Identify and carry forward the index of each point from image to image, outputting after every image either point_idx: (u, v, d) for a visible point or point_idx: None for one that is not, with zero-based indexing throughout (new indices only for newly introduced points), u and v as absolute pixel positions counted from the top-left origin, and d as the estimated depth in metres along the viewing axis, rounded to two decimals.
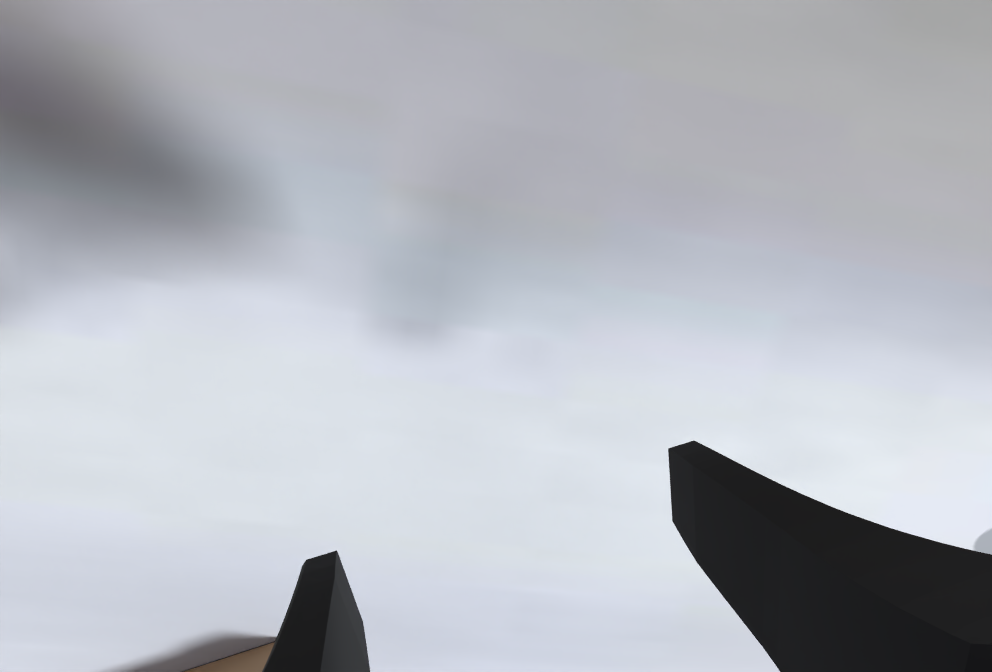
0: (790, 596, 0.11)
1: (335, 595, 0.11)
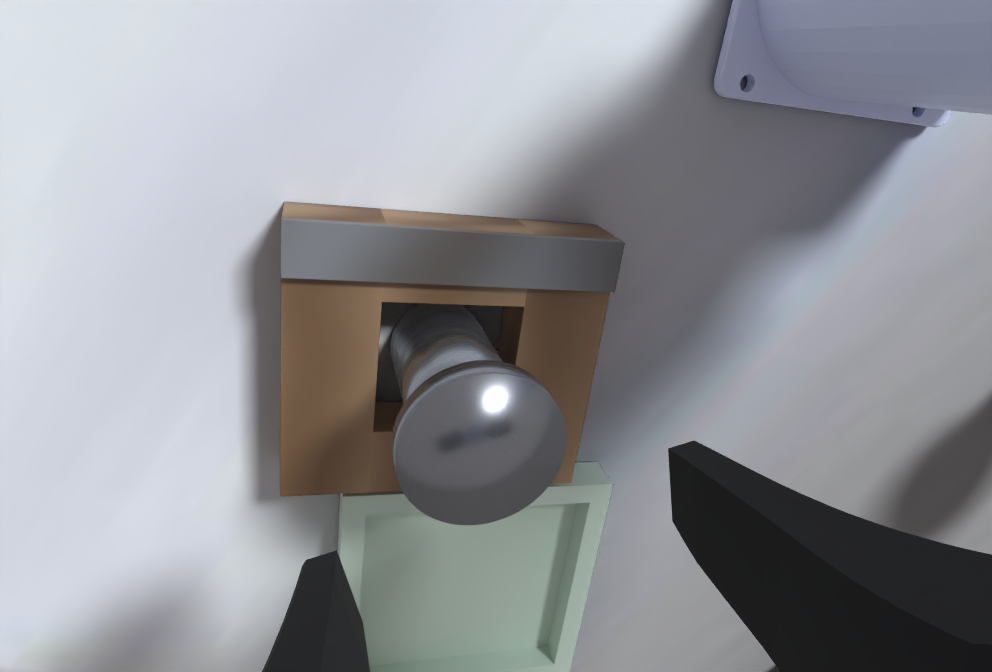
0: (790, 596, 0.11)
1: (335, 595, 0.11)
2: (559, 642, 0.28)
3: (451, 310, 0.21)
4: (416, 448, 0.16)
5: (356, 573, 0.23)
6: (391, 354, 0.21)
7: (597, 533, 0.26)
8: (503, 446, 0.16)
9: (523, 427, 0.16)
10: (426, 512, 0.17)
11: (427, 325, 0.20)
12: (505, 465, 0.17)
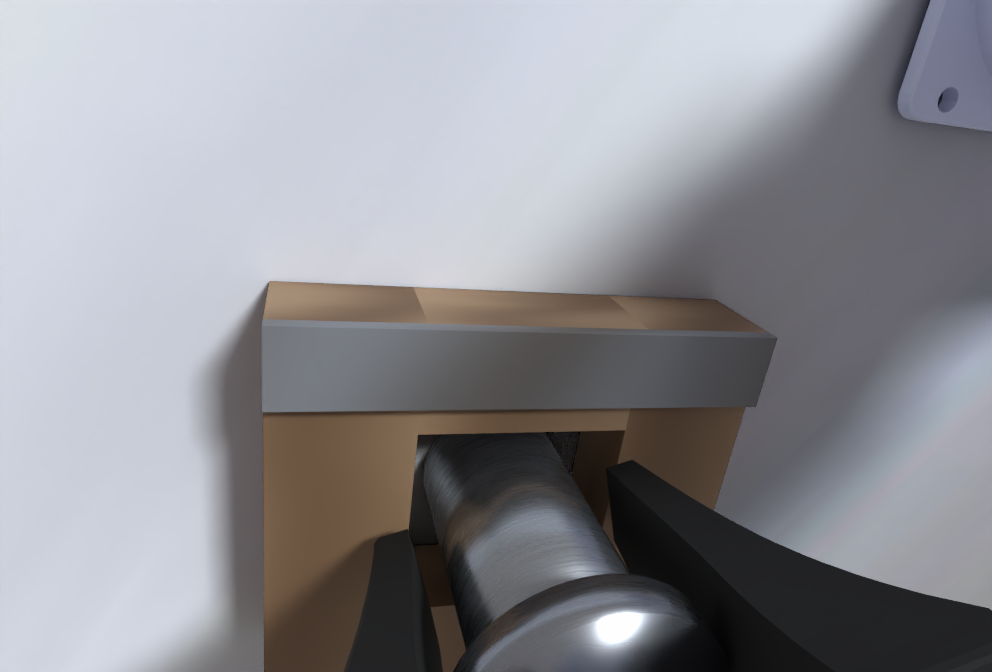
0: (712, 624, 0.10)
1: (413, 570, 0.12)
2: None
3: None
4: None
5: None
6: (426, 489, 0.15)
7: None
8: None
9: None
10: None
11: (483, 462, 0.13)
12: None
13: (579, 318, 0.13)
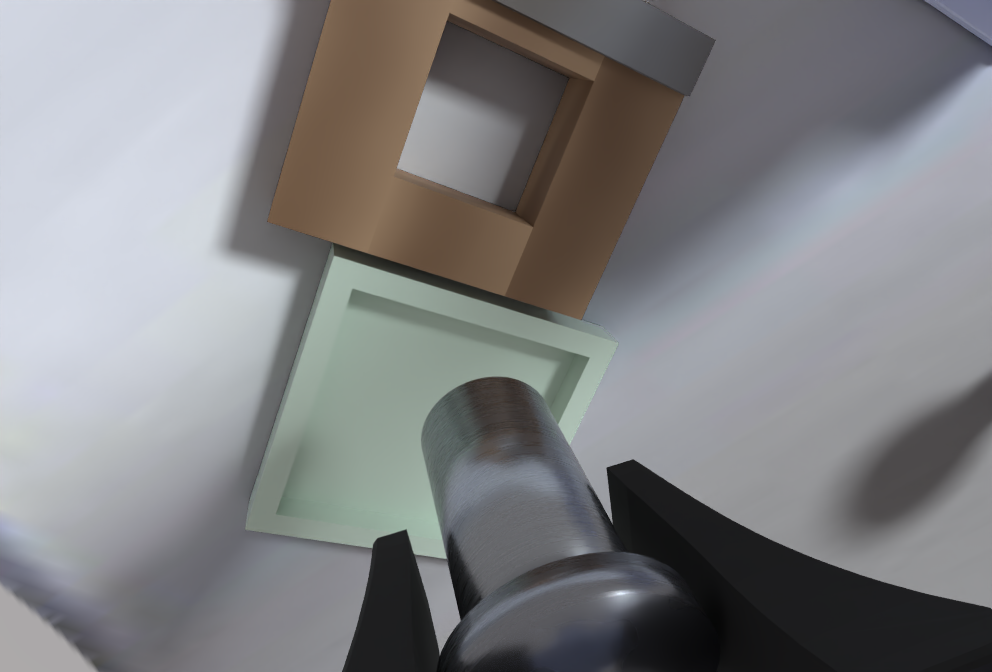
0: (713, 623, 0.10)
1: (412, 570, 0.12)
2: None
3: (517, 399, 0.14)
4: None
5: (321, 361, 0.20)
6: (423, 451, 0.15)
7: (587, 398, 0.23)
8: None
9: (656, 661, 0.10)
10: None
11: (485, 430, 0.13)
12: None
13: None
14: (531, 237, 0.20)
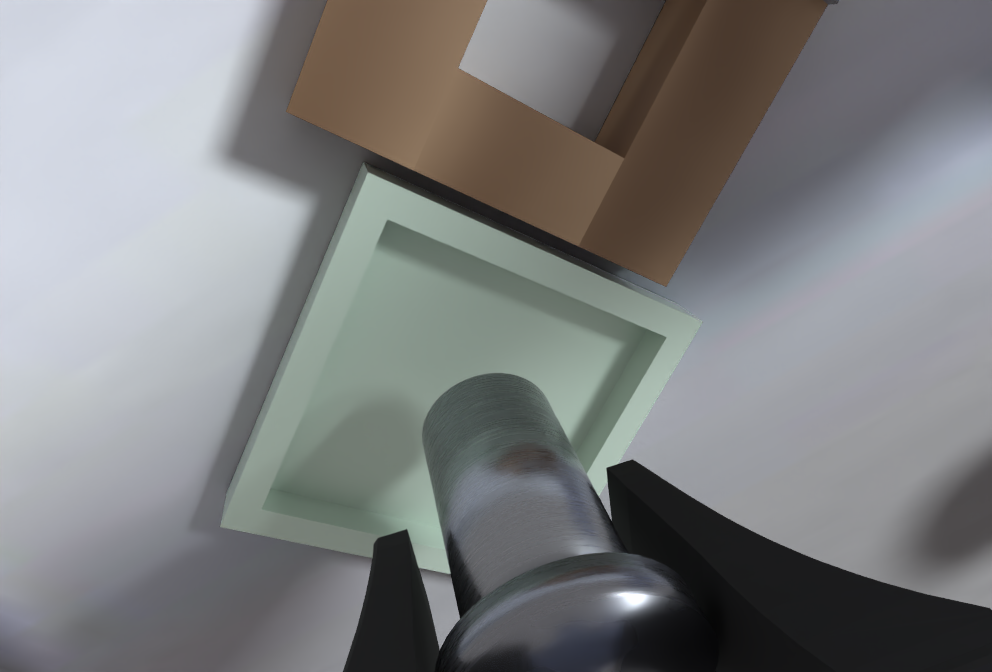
0: (713, 624, 0.10)
1: (413, 570, 0.12)
2: None
3: (518, 395, 0.14)
4: None
5: (337, 313, 0.16)
6: (424, 446, 0.15)
7: (656, 388, 0.19)
8: None
9: (654, 661, 0.10)
10: None
11: (486, 426, 0.13)
12: None
13: None
14: (621, 171, 0.15)
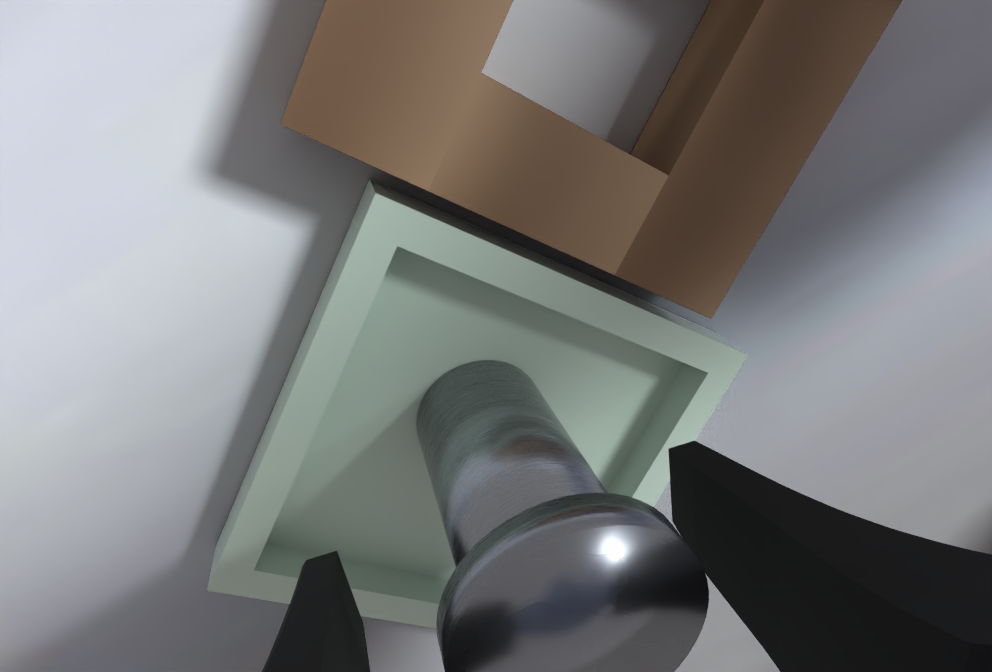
0: (790, 596, 0.11)
1: (335, 595, 0.11)
2: None
3: (508, 378, 0.15)
4: (482, 637, 0.10)
5: (340, 352, 0.14)
6: (419, 433, 0.15)
7: (695, 429, 0.17)
8: (613, 628, 0.10)
9: (648, 600, 0.10)
10: None
11: (478, 404, 0.14)
12: (612, 653, 0.11)
13: None
14: (664, 190, 0.13)
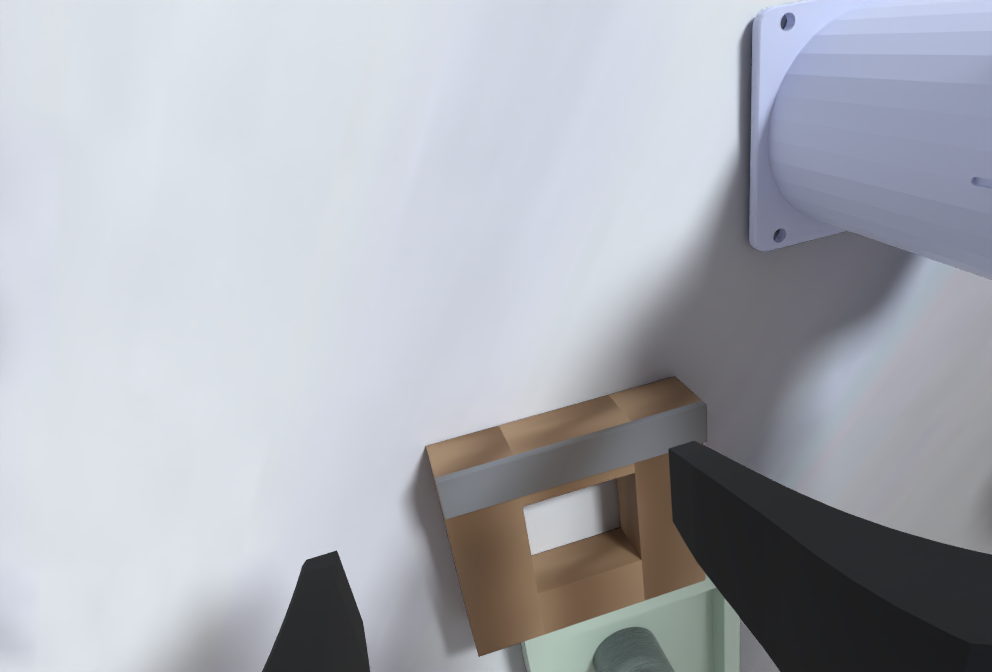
0: (790, 596, 0.11)
1: (335, 595, 0.11)
2: None
3: (625, 647, 0.29)
4: None
5: None
6: None
7: None
8: None
9: None
10: None
11: None
12: None
13: (592, 423, 0.23)
14: (643, 564, 0.26)
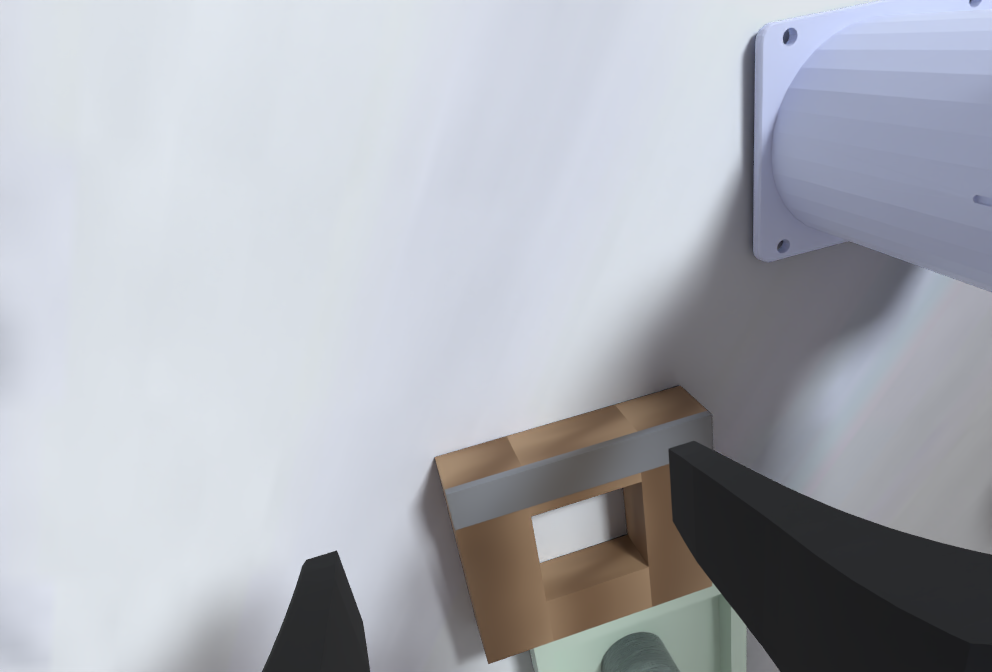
0: (790, 596, 0.11)
1: (335, 595, 0.11)
2: None
3: (633, 652, 0.29)
4: None
5: None
6: None
7: None
8: None
9: None
10: None
11: None
12: None
13: (599, 434, 0.24)
14: (650, 571, 0.27)
